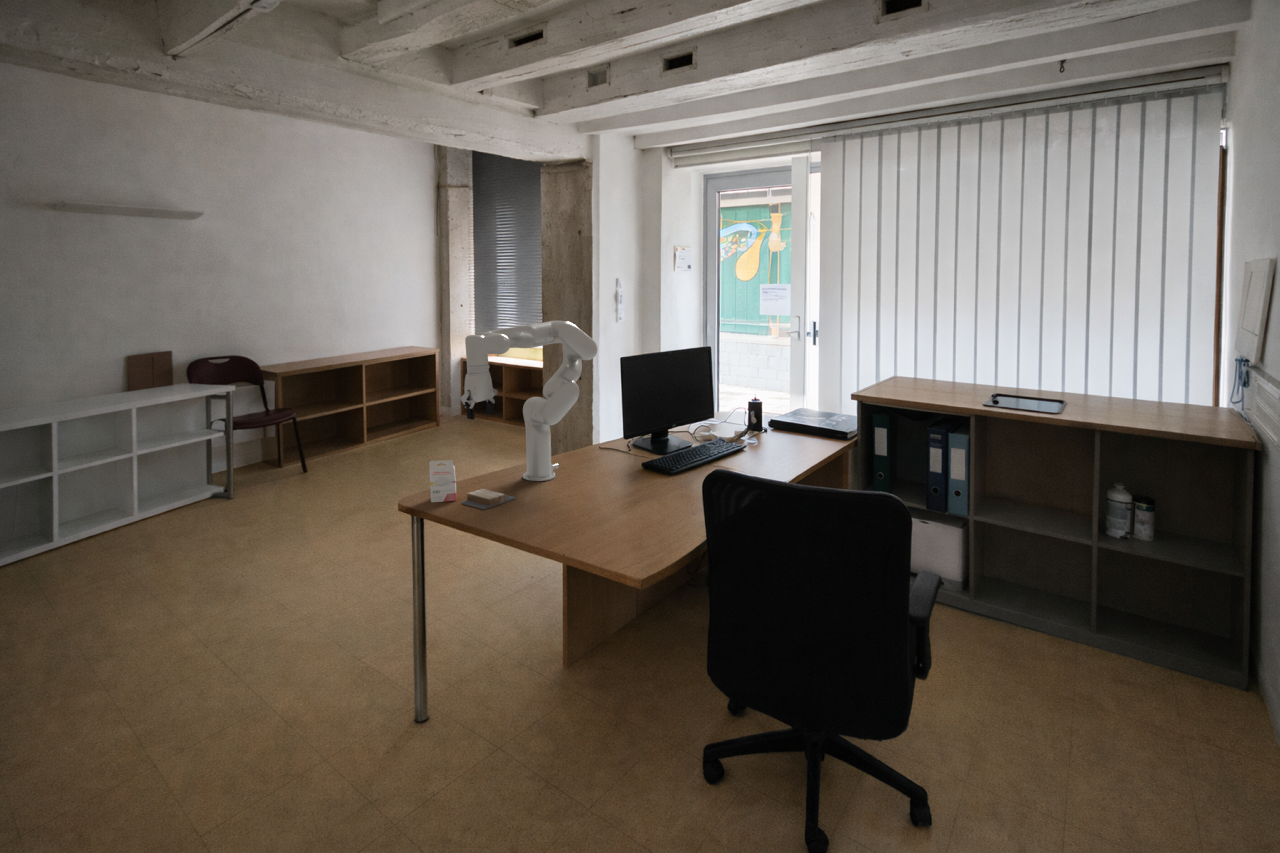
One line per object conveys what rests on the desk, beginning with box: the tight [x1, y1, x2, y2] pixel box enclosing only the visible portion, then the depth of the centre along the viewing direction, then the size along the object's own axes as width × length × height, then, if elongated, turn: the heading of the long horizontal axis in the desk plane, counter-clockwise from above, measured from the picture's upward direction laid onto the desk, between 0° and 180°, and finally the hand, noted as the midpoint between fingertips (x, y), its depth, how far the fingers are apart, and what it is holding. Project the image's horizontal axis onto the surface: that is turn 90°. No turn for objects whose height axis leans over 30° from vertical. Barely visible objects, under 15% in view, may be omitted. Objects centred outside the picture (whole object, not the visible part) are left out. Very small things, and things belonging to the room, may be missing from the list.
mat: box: [460, 494, 517, 510], centre depth 245 cm, size 15×11×1 cm
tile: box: [466, 488, 506, 506], centre depth 244 cm, size 2×11×7 cm
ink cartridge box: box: [428, 459, 458, 503], centre depth 245 cm, size 9×5×15 cm, turn 101°
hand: (480, 416), depth 255 cm, fingers open, 9 cm apart
